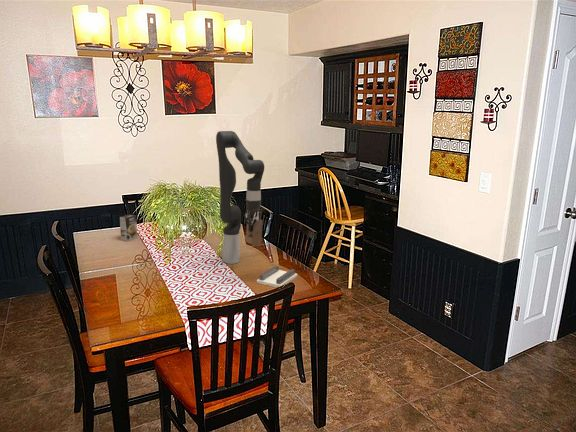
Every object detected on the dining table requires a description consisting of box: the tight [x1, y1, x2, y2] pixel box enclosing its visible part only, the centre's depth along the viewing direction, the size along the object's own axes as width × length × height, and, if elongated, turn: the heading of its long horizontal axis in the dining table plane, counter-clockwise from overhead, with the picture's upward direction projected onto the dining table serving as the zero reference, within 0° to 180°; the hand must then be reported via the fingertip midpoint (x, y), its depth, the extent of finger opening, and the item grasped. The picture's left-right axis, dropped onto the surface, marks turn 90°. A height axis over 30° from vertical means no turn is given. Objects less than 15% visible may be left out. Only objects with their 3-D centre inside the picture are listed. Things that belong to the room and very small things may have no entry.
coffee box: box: [119, 214, 138, 242], centre depth 294 cm, size 9×6×16 cm
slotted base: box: [256, 265, 298, 288], centre depth 231 cm, size 14×19×4 cm
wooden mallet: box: [244, 208, 263, 247], centre depth 230 cm, size 4×11×18 cm, turn 40°
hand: (253, 230), depth 230 cm, fingers closed on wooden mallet, 4 cm apart
